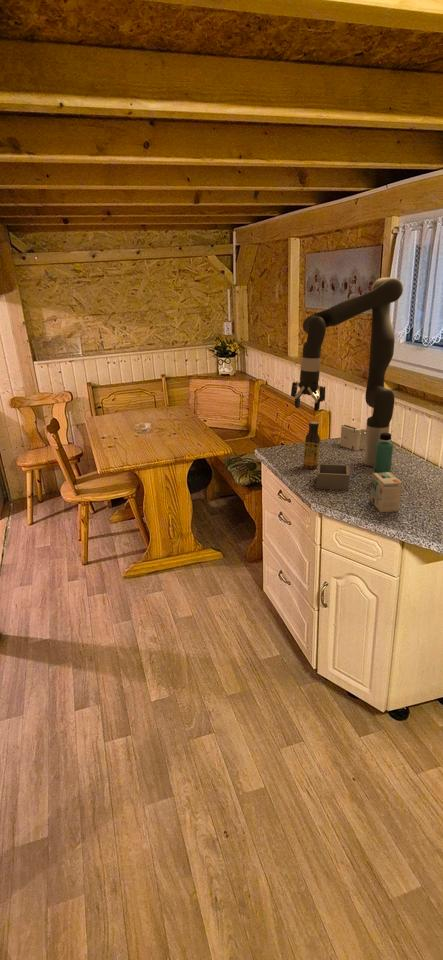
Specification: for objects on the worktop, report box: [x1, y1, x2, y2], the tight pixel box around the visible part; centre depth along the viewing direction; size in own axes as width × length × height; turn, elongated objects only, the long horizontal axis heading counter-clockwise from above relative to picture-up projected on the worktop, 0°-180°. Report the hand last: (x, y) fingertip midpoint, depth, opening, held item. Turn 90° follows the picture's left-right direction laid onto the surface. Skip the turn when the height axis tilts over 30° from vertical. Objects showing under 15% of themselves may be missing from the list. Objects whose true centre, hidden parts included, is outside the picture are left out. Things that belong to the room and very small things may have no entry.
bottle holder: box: [316, 463, 350, 491], centre depth 201 cm, size 12×12×6 cm
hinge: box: [339, 424, 366, 451], centre depth 241 cm, size 14×5×10 cm, turn 44°
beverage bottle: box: [373, 432, 394, 473], centre depth 198 cm, size 6×7×20 cm
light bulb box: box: [369, 471, 403, 513], centre depth 179 cm, size 11×7×11 cm, turn 5°
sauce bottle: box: [302, 421, 321, 470], centre depth 216 cm, size 7×6×20 cm
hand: (306, 409), depth 207 cm, fingers open, 8 cm apart
